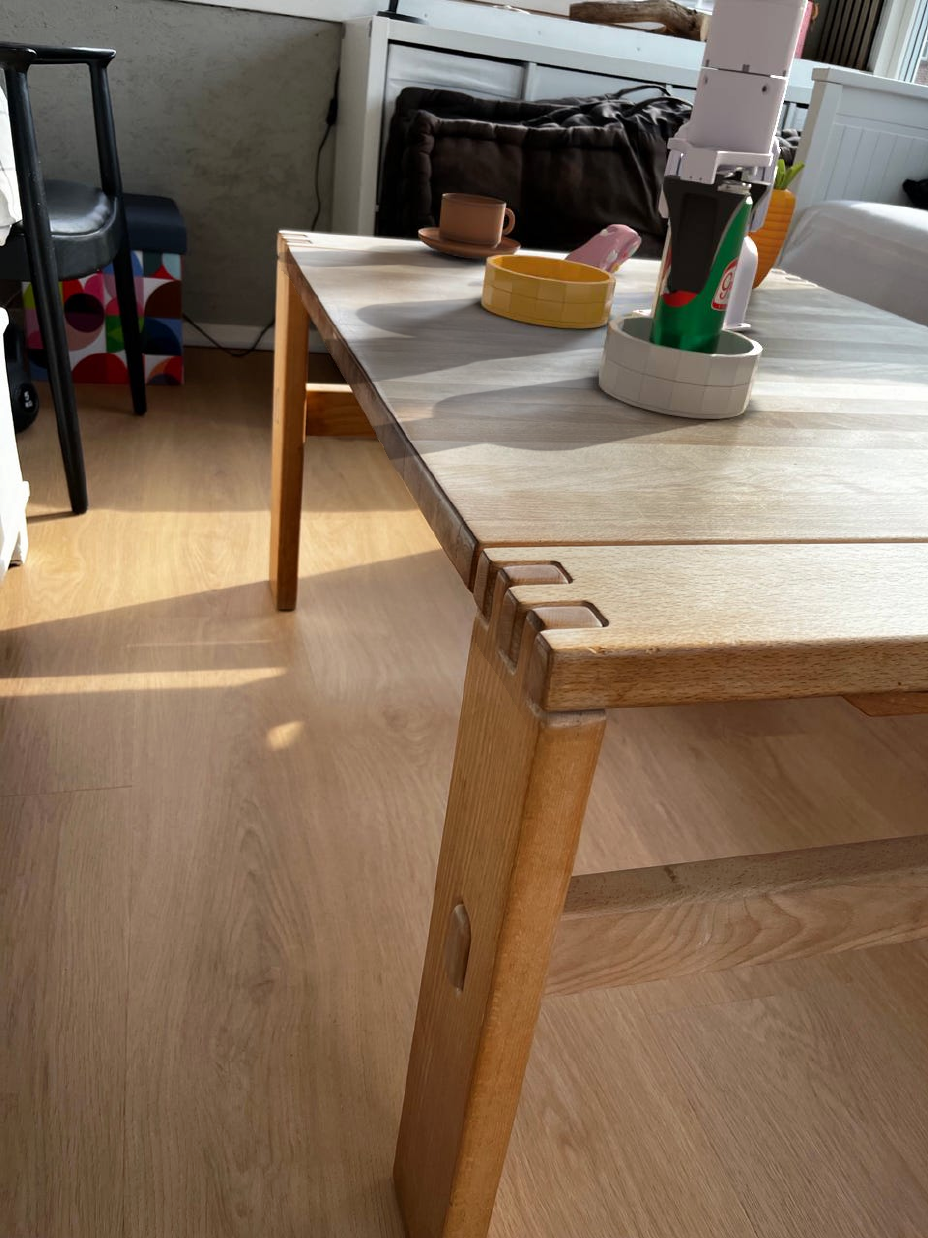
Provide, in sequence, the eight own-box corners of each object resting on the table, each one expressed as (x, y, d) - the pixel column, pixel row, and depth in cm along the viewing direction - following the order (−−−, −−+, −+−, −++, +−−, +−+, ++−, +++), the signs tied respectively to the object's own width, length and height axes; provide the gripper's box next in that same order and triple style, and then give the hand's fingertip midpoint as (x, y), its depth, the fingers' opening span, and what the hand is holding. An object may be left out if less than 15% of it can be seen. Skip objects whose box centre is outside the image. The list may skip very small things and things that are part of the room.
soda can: (715, 367, 74) (758, 188, 68) (645, 355, 74) (682, 177, 68) (714, 351, 78) (755, 182, 72) (648, 339, 79) (683, 171, 73)
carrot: (778, 291, 125) (813, 157, 118) (765, 295, 121) (801, 157, 114) (739, 282, 127) (771, 151, 120) (726, 286, 123) (758, 150, 116)
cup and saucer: (456, 241, 127) (462, 188, 124) (537, 261, 122) (545, 206, 119) (395, 247, 118) (400, 190, 115) (479, 269, 113) (487, 210, 110)
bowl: (542, 293, 105) (548, 253, 104) (633, 323, 98) (641, 280, 96) (454, 299, 98) (460, 255, 96) (546, 332, 90) (554, 286, 88)
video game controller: (584, 294, 116) (620, 241, 111) (555, 268, 116) (590, 215, 112) (620, 285, 123) (655, 236, 119) (592, 260, 124) (626, 210, 120)
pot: (658, 366, 85) (670, 311, 82) (774, 408, 78) (790, 349, 76) (568, 380, 77) (578, 320, 75) (686, 426, 71) (702, 362, 69)
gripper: (710, 70, 74) (669, 263, 81) (655, 60, 63) (612, 287, 69) (807, 83, 72) (757, 281, 79) (769, 75, 60) (714, 308, 67)
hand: (696, 285), depth 74 cm, fingers closed on soda can, 5 cm apart
